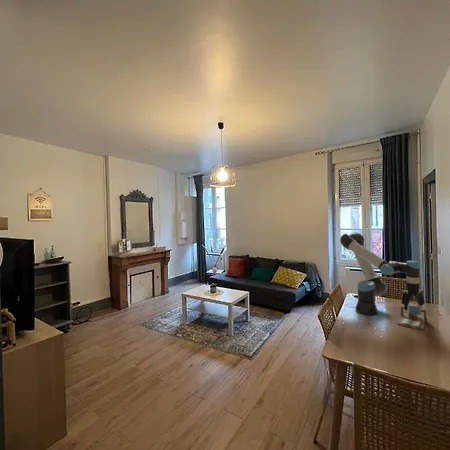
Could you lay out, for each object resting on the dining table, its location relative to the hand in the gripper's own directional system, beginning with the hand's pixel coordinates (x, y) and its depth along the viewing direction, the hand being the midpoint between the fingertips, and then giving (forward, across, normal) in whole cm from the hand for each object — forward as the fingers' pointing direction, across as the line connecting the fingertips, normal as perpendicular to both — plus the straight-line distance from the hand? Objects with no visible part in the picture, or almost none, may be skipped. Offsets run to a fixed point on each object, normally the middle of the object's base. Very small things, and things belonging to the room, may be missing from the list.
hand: (413, 313), depth 181 cm
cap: (-1, 0, 0) cm, 1 cm away
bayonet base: (+3, -4, -4) cm, 7 cm away
